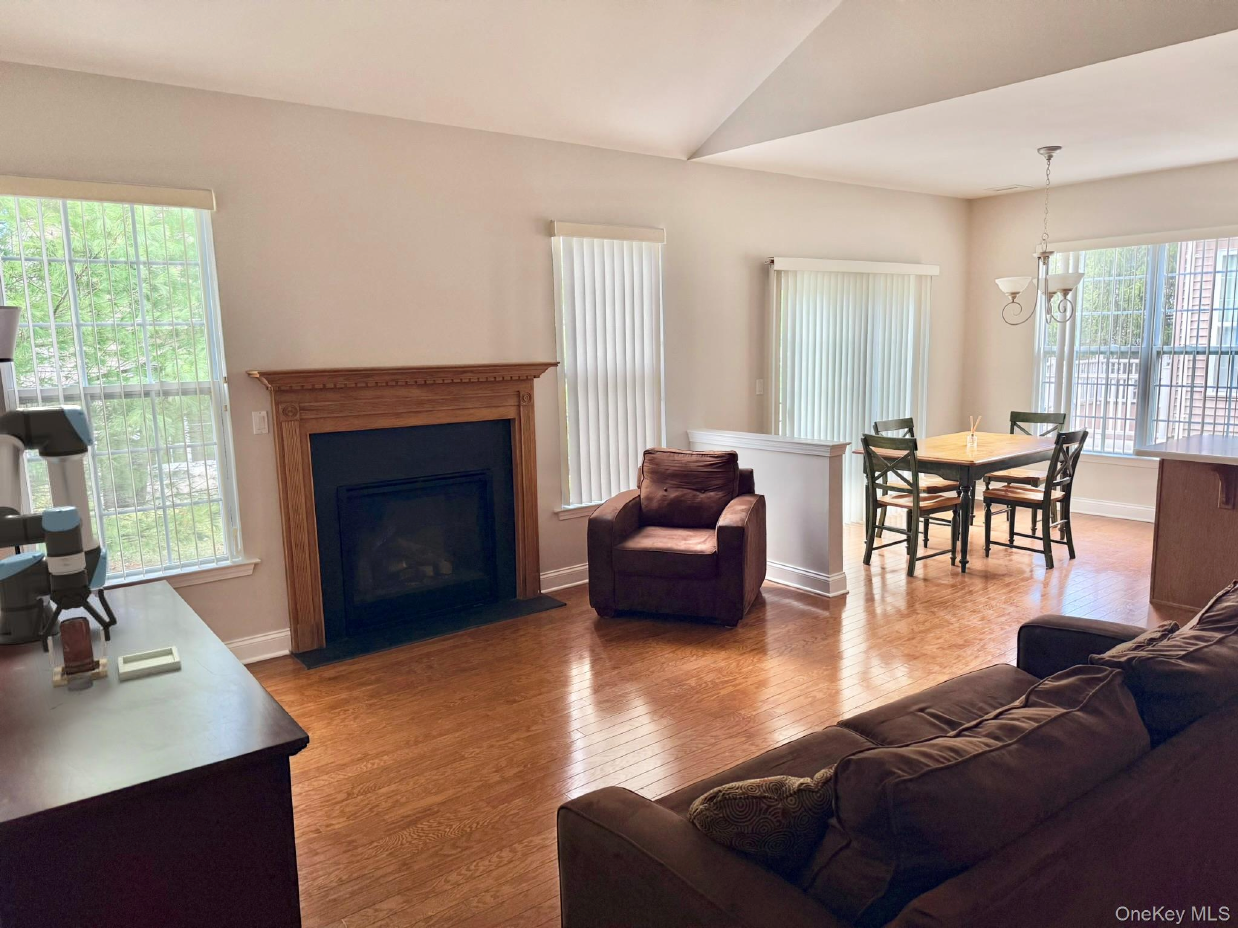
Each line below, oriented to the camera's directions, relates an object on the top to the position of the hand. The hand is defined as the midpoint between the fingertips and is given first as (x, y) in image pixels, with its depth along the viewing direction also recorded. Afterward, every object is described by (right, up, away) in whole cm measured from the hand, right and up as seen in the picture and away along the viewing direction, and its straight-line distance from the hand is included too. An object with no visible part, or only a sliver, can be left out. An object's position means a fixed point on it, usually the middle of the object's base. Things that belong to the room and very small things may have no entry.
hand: (79, 658), depth 206 cm
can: (0, -4, +1) cm, 4 cm away
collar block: (+2, -4, -2) cm, 5 cm away
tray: (+15, -3, +4) cm, 16 cm away
